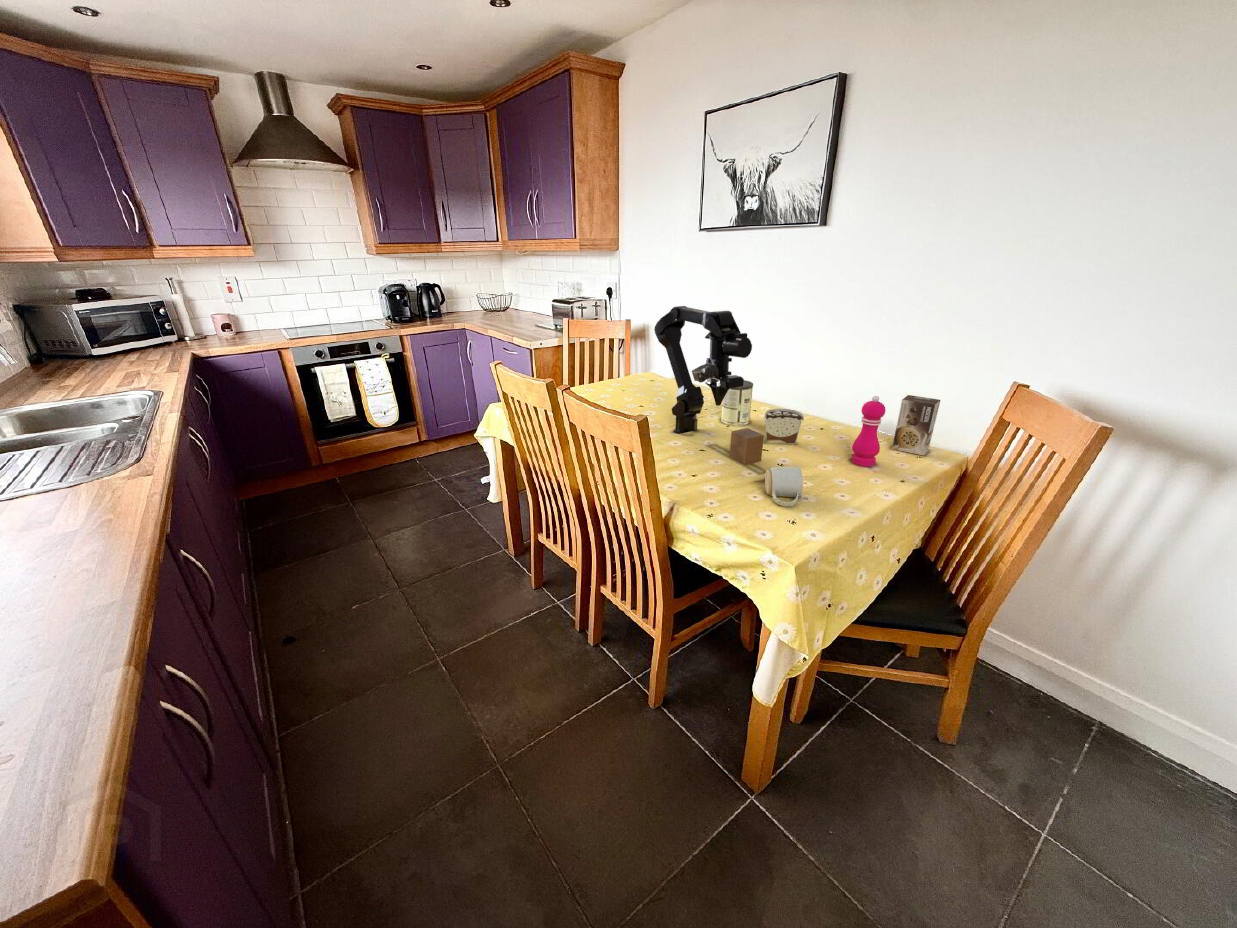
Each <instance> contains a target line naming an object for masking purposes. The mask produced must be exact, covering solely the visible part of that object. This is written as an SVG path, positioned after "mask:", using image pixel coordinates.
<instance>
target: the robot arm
mask: <svg viewBox="0 0 1237 928" xmlns="http://www.w3.org/2000/svg"><path fill="white" fill-rule="evenodd" d="M686 322H688V323H692V324H696V325H699V326H702V327H703V329H705V330H706V331H708V333H707V334H706V335H704V338H705V339H707V340H709V357H706V359H705V363H704V364H701V365H699V366H698V367H695V368H694V369H692V370H691V374H692V377H693V380H694V382H698V383H705V385H707V386H708V387H709V389H710V390H711V392H712V393H711V394H712V396H713V399H714V404H715V405H716V406H717V407H719V406H722V402H723V399H724V397H725V395H726V393H727V392H728V390H729V388H735V387H742V386H744V380H745V379H744V377H742V376H740V375H737V374H732V371H730V370H729V367H730V363H731V362H732V361H733V358H732V357H734V358H741V359H746V358H748V357H749V356H750V354H751V353H752V350H753V344H752V341H751V339H750V338H749V337H748V332H742V333H741V331H740V328H739V326H738V324H737V322H736V319H735V318H734V315H733V312H732V311H730V310H715V311H714V310H713V311H708V310H703V309H698V308H693V307H688V306H686V305H677V306H674V307H672V308H671V309H670V310H669V312H667V313H666V314H664V315H662V317H660V319H658V321H657V322H656V323H655V325H654V328H653V329H654V334H655V337H656V338H657V341H658V342H659V343H660V344H661V345H662V347H664V348H665V351H666V354H667V357H668V361H669V363H670V367H671V369H672V373H673V376H674V380H675V383H676V386H677V392H676V398H675V399H676V403H675V404H674V405H673V406H672V407H671V413H672V415H673V416H675V428H674V430H673V433H676V434H687V433H692V432H697V431H698V418H697V416H698V415H699V414H701V412H702V409H703V406H704V404H705V401H704V398H705V396H704V395H703V391H702V388H701V387H700V386H696V385H695V384H694V383H693V380H692V377H691V374H690V371H689V368H688V364H687V361H686V358H685V355H684V352H683V348H682V346H681V339H682V336H683V334H682V329H684V327H685V325H686Z"/></svg>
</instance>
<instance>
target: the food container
mask: <svg viewBox="0 0 1237 928" xmlns="http://www.w3.org/2000/svg"><path fill="white" fill-rule="evenodd" d="M804 419H805V418H804V414H803V413H802V412H801V411H798V410H794V409H789V408H772V409H768V410H766V412H765V413H764V416H763V420H765V434H764V439H765V440H766V441H780V442H783V443H786V444H788V445H796V444H797V441H798V436H799V433H800V429H801V425H802V421H803V422H804V421H805V420H804Z"/></svg>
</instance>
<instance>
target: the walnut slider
mask: <svg viewBox="0 0 1237 928" xmlns="http://www.w3.org/2000/svg"><path fill="white" fill-rule="evenodd" d="M730 432H731V433H730V445H729V455H728V456H729V458H731V459H733V460H735V461H737V462H739V463H741V464H743V465H744V466H746V465H750V464H754V463H759V462H762V457H763V447H764V439H765V434H763V433H761V432H758V431H756V430H754V429H751V428H749V427H746V428H741V429H735V430H731V431H730Z"/></svg>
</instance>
